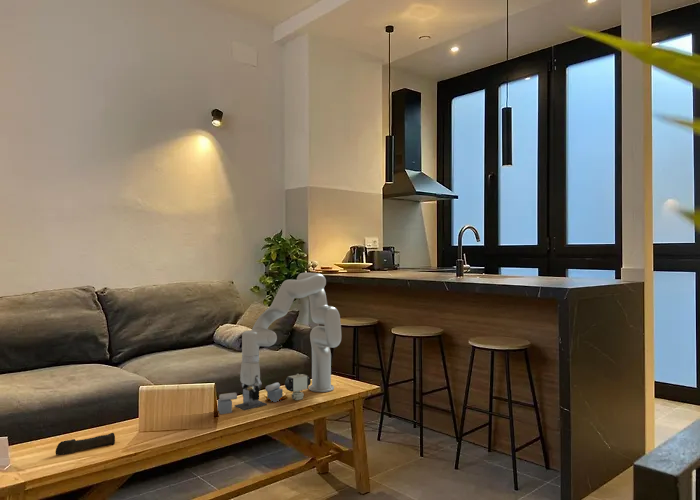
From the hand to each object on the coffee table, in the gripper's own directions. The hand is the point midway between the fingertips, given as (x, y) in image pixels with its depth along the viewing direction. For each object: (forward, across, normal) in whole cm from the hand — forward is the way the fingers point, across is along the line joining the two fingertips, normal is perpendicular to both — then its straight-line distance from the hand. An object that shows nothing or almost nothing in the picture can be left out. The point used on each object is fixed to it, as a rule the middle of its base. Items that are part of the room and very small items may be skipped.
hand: (250, 397), depth 238 cm
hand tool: (+4, +5, -70) cm, 71 cm away
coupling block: (+3, 0, 0) cm, 3 cm away
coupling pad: (+4, 0, 0) cm, 4 cm away
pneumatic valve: (+4, +6, +22) cm, 23 cm away
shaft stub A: (+4, 0, +12) cm, 12 cm away
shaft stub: (+4, 0, -12) cm, 12 cm away
